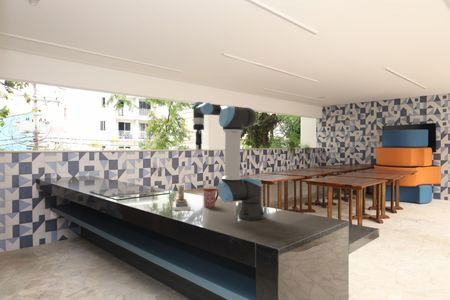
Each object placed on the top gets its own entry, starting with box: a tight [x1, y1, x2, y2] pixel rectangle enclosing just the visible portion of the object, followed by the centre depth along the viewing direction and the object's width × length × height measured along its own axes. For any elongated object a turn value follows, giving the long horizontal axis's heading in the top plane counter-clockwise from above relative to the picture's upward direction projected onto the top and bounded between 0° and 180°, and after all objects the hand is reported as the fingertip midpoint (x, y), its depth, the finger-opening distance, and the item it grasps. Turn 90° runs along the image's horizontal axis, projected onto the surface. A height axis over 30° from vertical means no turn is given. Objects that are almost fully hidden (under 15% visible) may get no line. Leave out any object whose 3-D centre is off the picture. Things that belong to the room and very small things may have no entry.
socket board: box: [172, 198, 191, 211], centre depth 208 cm, size 11×22×4 cm, turn 10°
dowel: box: [177, 185, 185, 201], centre depth 214 cm, size 4×4×12 cm
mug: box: [202, 186, 220, 209], centre depth 210 cm, size 13×9×14 cm
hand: (198, 154), depth 212 cm, fingers open, 13 cm apart
